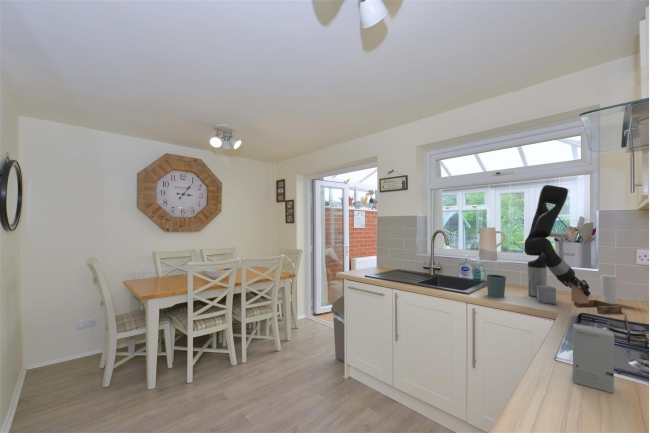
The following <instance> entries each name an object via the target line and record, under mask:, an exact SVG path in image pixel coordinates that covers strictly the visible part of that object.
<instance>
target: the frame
mask: <svg viewBox="0 0 650 433" xmlns="http://www.w3.org/2000/svg"><path fill="white" fill-rule="evenodd" d="M573 305H574V307H596V313H597V312H598V313H597V314H619V313H620V314H622V312H623V309H622V308H623V307H622V306H621V305H617V304H610V303H606V302H603V300H602V301H601V300H597V299H589V303H583V304H580V303H577V302H573Z"/></svg>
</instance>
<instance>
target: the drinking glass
mask: <svg viewBox="0 0 650 433" xmlns="http://www.w3.org/2000/svg"><path fill="white" fill-rule="evenodd" d="M600 286H601V288H600V289H601V294H602V296H601V297H602V302H606V303H610V304H614V305H617V298H618V296H617V295H618V288H619V287H618V286H619V280H618V276H617V275H612V274H601V275H600Z"/></svg>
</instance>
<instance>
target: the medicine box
mask: <svg viewBox="0 0 650 433" xmlns="http://www.w3.org/2000/svg"><path fill="white" fill-rule="evenodd" d="M536 301H537V302H538V303H541V304H542V303H543V304H554V305H555V304H557V288H556V287H555V286H553V285H552V286H551V285H550V286H549V285H547V286H538V285H537V297H536Z"/></svg>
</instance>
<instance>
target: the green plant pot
mask: <svg viewBox="0 0 650 433" xmlns="http://www.w3.org/2000/svg"><path fill="white" fill-rule="evenodd" d="M506 280H507V276H504V275H501V274H486V284H487V286H486V288H487V295H488V296H489V297H492V298H504V297H505V291H506V283H507V282H506Z"/></svg>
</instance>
